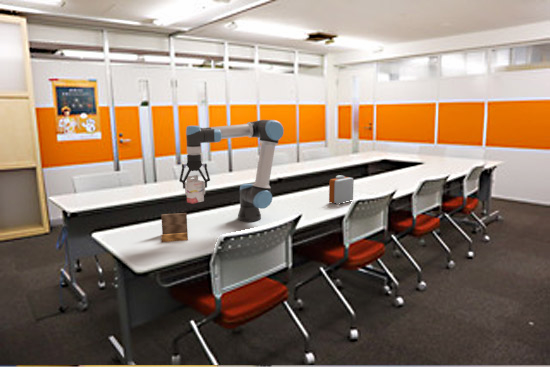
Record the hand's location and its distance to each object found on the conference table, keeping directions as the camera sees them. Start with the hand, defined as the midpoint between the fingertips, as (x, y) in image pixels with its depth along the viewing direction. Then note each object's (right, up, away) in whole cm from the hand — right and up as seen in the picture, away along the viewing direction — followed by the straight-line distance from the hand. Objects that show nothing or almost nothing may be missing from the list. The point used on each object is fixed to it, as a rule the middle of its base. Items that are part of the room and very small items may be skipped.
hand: (195, 193), depth 220 cm
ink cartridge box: (0, -5, +1) cm, 5 cm away
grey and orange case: (+95, -9, +79) cm, 124 cm away
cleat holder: (-12, -25, +1) cm, 27 cm away
